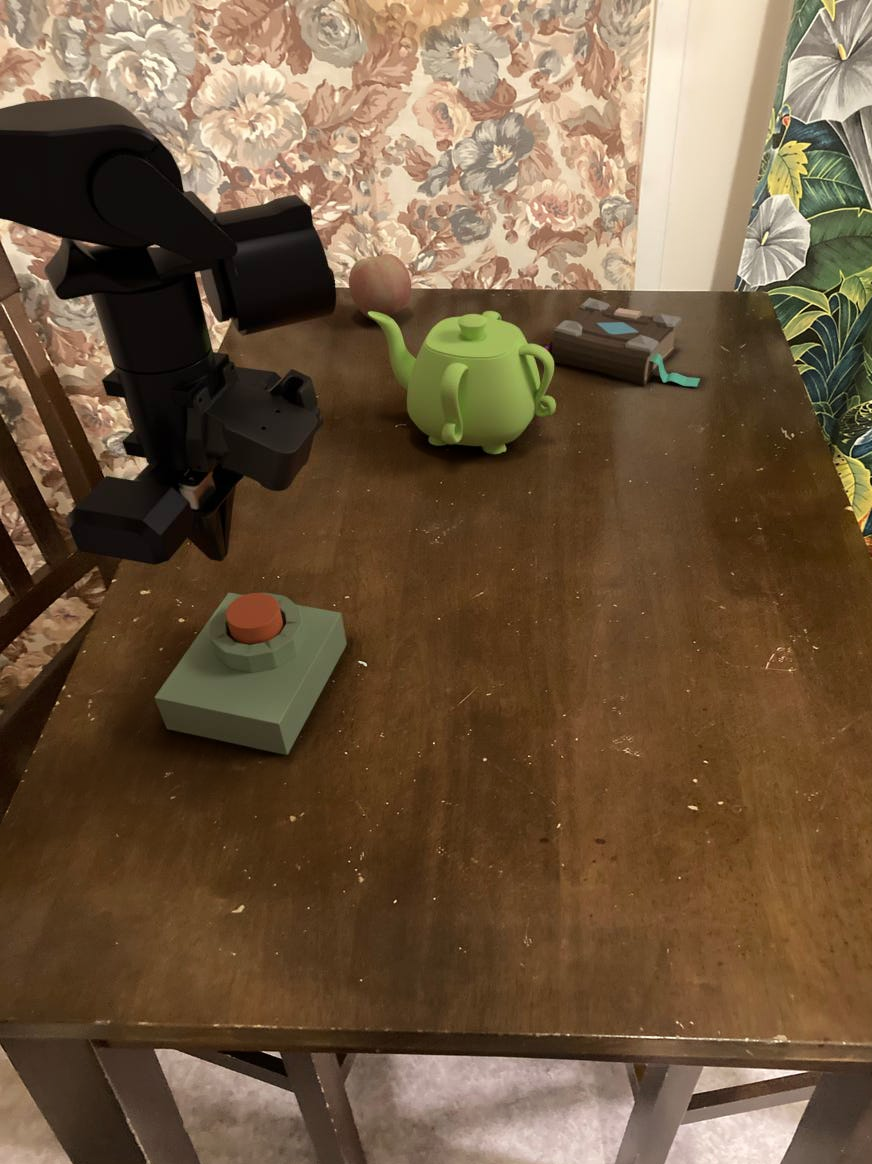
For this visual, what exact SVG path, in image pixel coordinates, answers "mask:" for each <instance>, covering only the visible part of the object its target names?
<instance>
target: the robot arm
mask: <svg viewBox="0 0 872 1164" xmlns="http://www.w3.org/2000/svg"><path fill="white" fill-rule="evenodd" d="M0 220H5V221H8V222H12V223H15V224H17V225H21V226H24V227H27V228H31V229H33V230H37V231H39V232H43V233H45V234H49V235H52V236H55V237H58V238H61V240H60V241H61V242H60V246H59V247H58V250H57V252H55V254H53V256H52V258H51V259H50V260H49V261H48V262H47V264H46V265H45V266H44V274H45V277H46V278H47V279H48V280H47V281H48V282H49V285H50V286H51V288H52V290H53V292H54V294H55V296H56V297H57V298H58V299H59V300H62V301H68V300H73V299H78V298H82V297H86V296H91V299H92V301H93V305H94V308H95V312H96V315H97V317H98V321H99V324H100V326H101V330H102V333H103V336H104V338H105V343H106V346H107V349H108V352H109V355H110V358H111V363H112V365H113V370H111V371H110V373H108V374H107V375H106V376H104V377H103V378H102V379H101V382H102V385H103V388H104V391H105V394H106V396H107V397H114V398H122V399H124V403H125V406H126V410H127V413H128V416H129V419H130V422H131V425H132V427H133V430H132V431H131V432H130V433H128V434H127V436H126V437H125V438H124V439H123V440H122V441H121V443H122V445H123V448H124V452H125V454H126V456H130V457H137V458H142V459H146V463H147V465H146V466H145V467H144V468H143V469H142V470H141V471H140V472H139V473H138V474H137V475H136V476H135V477H134V478H133V479H129V478H122V477H116V476H111V475H105V477H103V479H101V481H99V482H98V483H97V484H96V485H95V486H94V488H92V489H91V490H90V491H89V492H88V493H87V494H86V495H85V496H84V498H82V499H81V501H80V502H78V503H77V504H76V505H75V506H74V508H73V509H72V510H71V511H70V512H69V513H68V514H67V516H66V517H65V521H66V523H67V527H68V530H69V531H70V533H71V534H70V535H71V536H72V539H73V541H74V543H75V547H76V548H77V551H78V552H83V553H89V554H94V555H99V556H104V557H111V558H115V559H122V560H127V561H132V562H138V563H142V564H148V565H153V566H156V565H160V564H162V563H163V564H164V563H165V562H169V561H170V560H171V559H172V557H174V555H175V554H176V553H177V551H178V550H179V549H180V548H181V546H182V545H184V543H185V541H187V540H188V541H190V542H191V544H193V545H194V546H195V547H196V548H197V549H198V550H199V551H200V552H201V553H202V554H203V555H204V556H205V557H207V558H208V559H209V560H211V561H216V562H223V561H224V560H225V558H227V556H228V554H229V547H230V539H231V529H232V520H233V509H234V502H235V495H236V488H237V485H238V483H239V482H240V481H242V479H244V477H246V478H248V479H251V480H253V481H255V482H257V483H259V484H260V487H263V488H265V489H267V490H269V491H273V492H282V491H286V490H288V489H289V487H291V485H292V484H293V482H294V480H295V478H296V477H297V475H298V474H299V473H300V472H301V470H302V469H303V467H304V466H306V465H307V463H308V462H309V460H310V456H311V451H312V448H313V442H314V439H315V435H316V434H317V432H318V431H319V429H320V428H321V427H322V425H323V424H324V418H323V416H322V415H321V414H320V413H321V408H320V407H318V406H319V405H318V404H319V401H318V398H317V394H316V390H315V385H314V382H313V379H312V377H311V376H309V375H306V374H304V373H303V372H301V371H298V370H296V369H292V368H291V369H290V370H289V371H288V372H286V373H285V374H284V375H283V376H282V377H281V376H280V375H279V374H278V373H277V372H276V371H273V370H272V371H271V370H263V369H257V368H249V367H241V366H236V364H235V361H231V359H230V355H229V353H223V352H216V351H214V349H213V345H212V341H211V336H210V332H209V328H208V324H207V318H206V314H205V310H204V306H203V302H202V298H201V293H200V289H199V285H198V280H197V276H196V273H199V276H200V280H201V283H202V288H203V290H204V295H205V297H206V299H207V302H208V306H209V308H210V310H211V312H212V315H213V317H214V318H215V320H216V321H217V322H218V323H225V322H230V321H231V322H232V324H233V326H234V328H235V330H236V331H237V332H238V333H239V335H241V336H242V337H244V336H249V335H252V334H257V333H262V332H266V331H269V330H273V329H277V328H281V327H286V326H290V325H293V324H294V325H295V324H298V323H303V322H308V321H311V320H316V319H320V318H323V317H328V316H331V315H333V314H334V312H335V309H336V306H337V305H336V304H337V289H336V279H335V273H334V270H333V269H332V268H331V267H330V265H329V260H328V258H327V255H326V251H325V248H324V246H323V242H322V240H321V237H320V235H319V233H318V231H317V230H316V229H317V228H316V227H315V225H314V220H313V213H312V207H311V206H310V205H309V204H308V203H307V202H306V201H304V200H303V199H302V198H301V197H299V196H298V195H297V194H292V195H286V196H281V197H277V198H274V199H272V200H270V201H268V202H266V203H263V204H257V205H253V206H247V207H241V208H236V209H231V210H226V211H221V212H215V213H214V212H213V211H212V209H210V208H209V207H208V205H206V204H205V202H204V201H203V200H201V198H200V197H199V196H197V194H196V193H195V192H194V191H192V190H187V191H186V190H184V184H183V178H182V173H181V170H180V168H179V166H178V164H177V161H176V160H175V158H174V156H173V154H172V152H170V150H169V149H168V148H167V147H166V146H165V145H164V143H162V142H161V140H160V139H159V138H158V137H157V136H156V135H155V134H154V133H153V132H152V131H151V130H150V129H149V128H148V127H147V126H146V125H145V124H144V123H143V122H142V121H141V120H140V119H139V118H138V117H137V116H136V115H135V114H134V113H132V112H131V111H130V110H129V109H128V108H127V107H125V106H124V105H122V104H120V103H118V102H116V101H114V100H111V99H107V98H104V97H101V96H79V97H78V96H77V97H69V98H68V97H66V98H58V99H57V98H55V99H47V100H34V101H27V102H22V103H16V104H13V105H8V106H5V107H1V108H0ZM82 242H83V243H82ZM84 243H88V244H94V246H91V245H88V244H84ZM153 246H154V247H153ZM155 246H156V247H155Z"/></svg>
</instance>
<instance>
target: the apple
mask: <svg viewBox="0 0 872 1164" xmlns="http://www.w3.org/2000/svg"><path fill="white" fill-rule="evenodd" d="M348 288H349V292H350V295H351V299H352V301H353V303H354V305H355V306H356V308H357V309H358V311H360V313H362V315H364V316H365V317H366V318H368V319H370V320H372V321H375V320H374V319H372V318H371V317H370V316H369V315H368V312H370V311H373V312H378V313H382V314H384V315H387V316H389V317H390V318H391V317H392V316H394V315H395V314H396V313H398V312H400V311H402V310H403V309H404V308H405V307H407V305H408V304H409V302H410V300H411V297H412V279H411V276H410V272H409V270H408V268H407V266H406V265H405V263H404V262H403V261H402V259H400V258H399V257H398V256H397V255H394V254H392V253H385V254H382V255H377V256H376V255H375V256H369V257H365V258H362V259H359V260H357V261H356V262H354V264H353V265H352V267H351V269H350V271H349V275H348Z"/></svg>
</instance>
